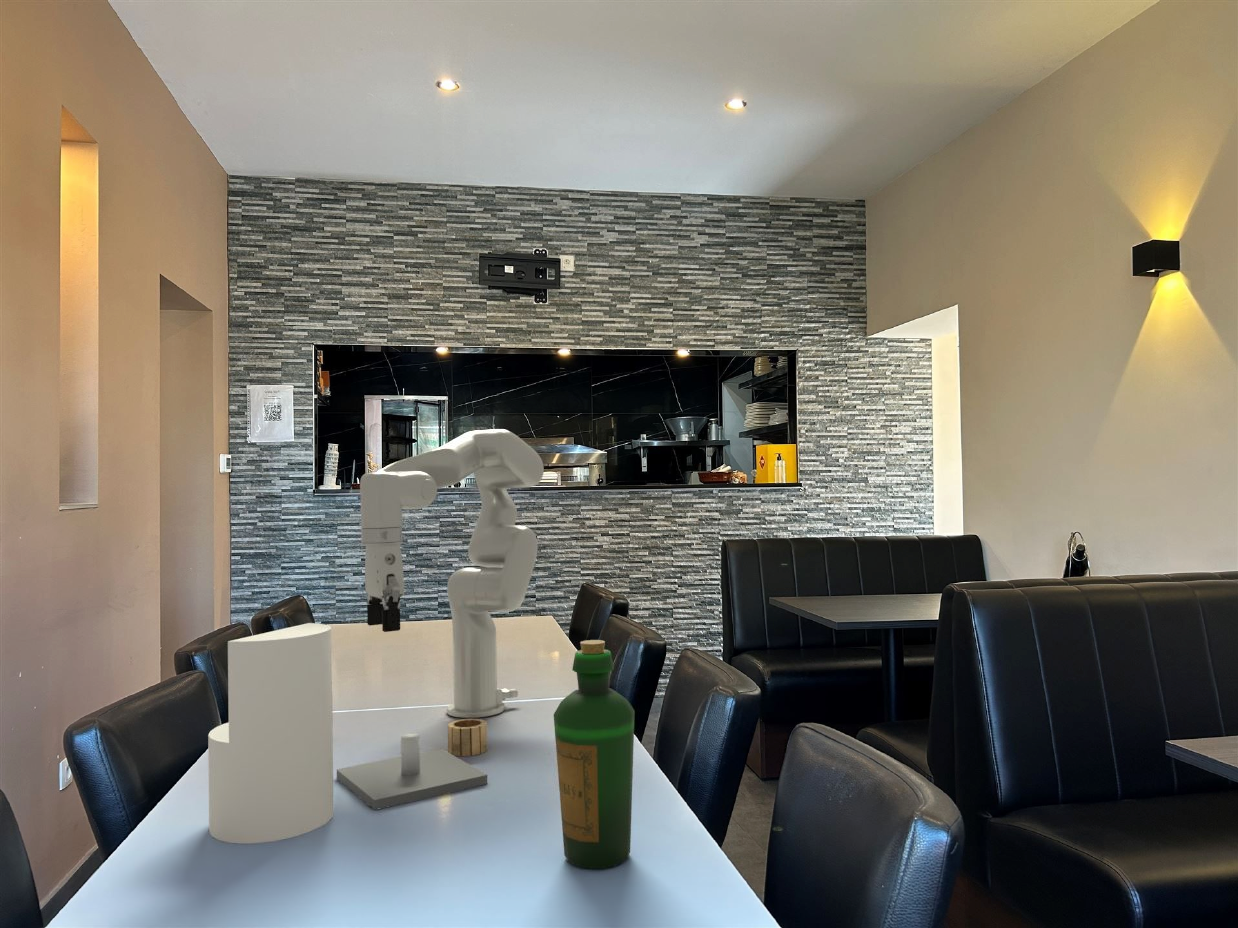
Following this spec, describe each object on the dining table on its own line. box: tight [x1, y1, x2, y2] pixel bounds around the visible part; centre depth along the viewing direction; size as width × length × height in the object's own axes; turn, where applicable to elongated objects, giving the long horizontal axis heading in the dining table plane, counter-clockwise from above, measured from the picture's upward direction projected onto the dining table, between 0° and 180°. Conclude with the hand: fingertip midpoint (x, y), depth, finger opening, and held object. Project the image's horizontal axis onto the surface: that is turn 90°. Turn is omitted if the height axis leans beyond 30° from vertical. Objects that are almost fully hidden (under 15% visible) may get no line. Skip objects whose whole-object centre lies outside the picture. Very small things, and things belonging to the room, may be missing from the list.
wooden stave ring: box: [447, 718, 488, 757], centre depth 164 cm, size 7×7×5 cm
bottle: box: [553, 639, 636, 870], centre depth 115 cm, size 11×11×28 cm
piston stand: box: [336, 733, 488, 811], centre depth 147 cm, size 19×19×8 cm
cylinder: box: [207, 622, 335, 845], centre depth 131 cm, size 17×17×28 cm
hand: (383, 627), depth 166 cm, fingers open, 9 cm apart
